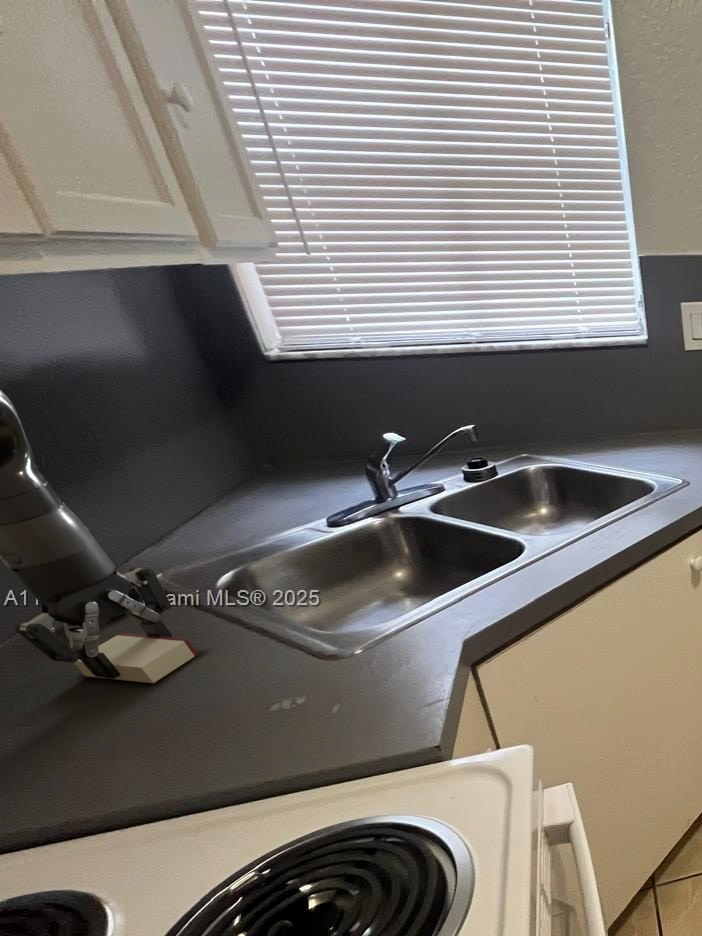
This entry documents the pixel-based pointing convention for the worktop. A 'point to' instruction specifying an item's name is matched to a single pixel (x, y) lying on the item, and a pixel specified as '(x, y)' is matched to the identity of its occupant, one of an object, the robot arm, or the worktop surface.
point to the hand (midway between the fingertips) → (138, 660)
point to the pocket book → (143, 656)
